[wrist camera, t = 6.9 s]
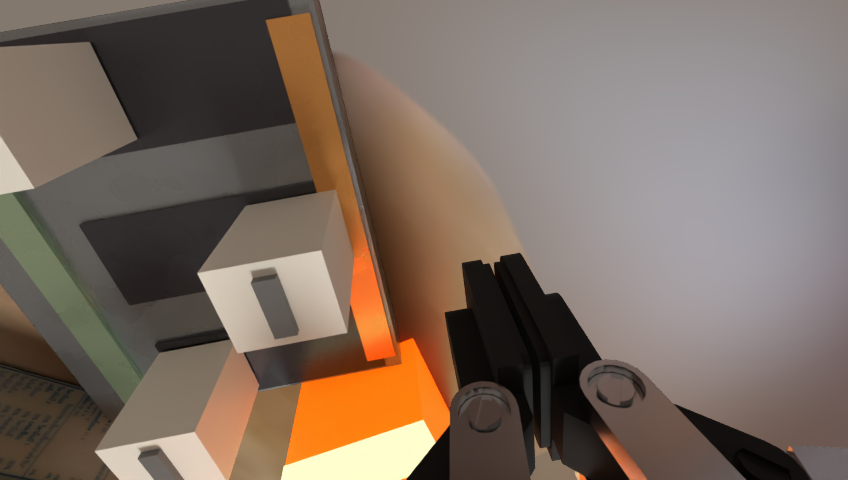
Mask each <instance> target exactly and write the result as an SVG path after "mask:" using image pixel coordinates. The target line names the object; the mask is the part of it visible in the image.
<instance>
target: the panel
mask: <svg viewBox="0 0 848 480" xmlns="http://www.w3.org/2000/svg"><path fill="white" fill-rule="evenodd" d="M80 42H90V44H91V46H92V48H93V50H94V52H95V54H96V56H97V58H98V60H99V62H100V64H101V66H102V68H103V70H104V72H105V74H106V76H107V78H108V80H109V82H110V84H111V86H112V88H113V90H114V92H115V94H116V96H117V98H118V100H119V102H120V104H121V106H122V108H123V110H124V113H125V115H126V117H127V119H128V121H129V123H130V125H131V127H132V129H133V131H134V133H135V135H136V137H137V140H135V141H133V142H131V143H129V144H127V145H125V146H123V147H121V148H118V149H116V150H114V151H112V152H110V153H108V154H106V155H104V156H102V157H100V158H97V159H95V160H93V161H91V162H89V163H87V164H85V165H83V166H81V167H79V168H77V169H74V170H72V171H70V172H68V173H66V174H64V175H62V176H60V177H58V178H56V179H53V180H51V181H49V182H47V183H45V184H43V185H41V186H39V187H37V188H34V189H29V190H23V191H18V192H12V193H6V194H1V195H0V284H1V285H2V287H3V288H4V289H5V290H6V292H7V293H8V294H9V295H10V297H11V298H12V299H13V300H14V302H15V303H16V304H17V305H18V307H19V308H20V309H21V310H22V312H23V313H24V314H25V315H26V317H27V318H28V319H29V320H30V322H31V323H32V324H33V326H34V327H35V328H36V329H37V331H38V332H39V333H40V334H41V336H42V337H43V338H44V339H45V341H46V342H47V343H48V344H49V346H50V347H51V348H52V349H53V351H54V352H55V353H56V354H57V356H58V357H59V358H60V359H61V361H62V362H63V363H64V364H65V366H66V367H67V368H68V369H69V371H70V372H71V373H72V374H73V376H74V377H75V378H76V379H77V381H78V382H79V383H80V384H81V386H82V387H83V388H84V390H85V391H86V392H87V393H88V395H89V396H90V397H91V398H92V400H93V401H94V402H95V403H96V405H97V406H98V407H99V408H100V410H101V411H102V412H103V413H104V415H105V416H106V417H107V418H108V420H112V419H116V418H117V416H118V415H119V413H120V412H121V410H122V409H123V407H124V406H125V404H126V403H127V401H128V400H129V398H130V397H131V395H132V394H133V392H134V391H135V389H136V388H137V386H138V385H139V383H140V382H141V380H142V379H143V377H144V375H145V374H146V372H147V371H148V369H149V368H150V366H151V365H152V363H153V362H154V360H155V359H156V357H157V356H158V354H159V353H162V352H167V351H172V350H178V349H183V348H188V347H194V346H199V345H204V344H209V343H215V342H220V341H225V340H231V339H230V337H229V335H228V333H227V331H226V329H225V327H224V325H223V323H222V321H221V319H220V317H219V315H218V314H217V312H216V310H215V308H214V306H213V304H212V302H211V300H210V298H209V296H208V294H207V292H206V290H205V288H204V286H203V284H202V282H201V280H200V278H199V276H198V274H197V273H198V271H199V270H200V269H201V267H202V266H203V264H204V263H205V262H206V260H207V259H208V257H209V256H210V255H211V253H212V252H213V251H214V249H215V248H216V246H217V245H218V244H219V242H220V241H221V239H222V238H223V237H224V235H225V234H226V233H227V231H228V230H229V228H230V227H231V226H232V224H233V223H234V221H235V220H236V219H237V217H238V216H239V215H240V213H241V212H242V210H243V209H244V208H245V206H247V205H253V204H258V203H264V202H269V201H275V200H280V199H286V198H291V197H297V196H302V195H308V194H313V193H319V192H324V191H330V190H335V189H336V191H337V195H338V199H339V202H340V206H341V210H342V213H343V217H344V221H345V224H346V228H347V231H348V235H349V239H350V242H351V246H352V250H353V253H354V266H353V277H352V288H351V299H350V310H349V321H348V332H347V333H344V334H339V335H334V336H328V337H323V338H318V339H312V340H307V341H302V342H296V343H291V344H286V345H281V346H275V347H270V348H265V349H259V350H254V351H249V352H243V353H244V355H245V357H246V359H247V361H248V363H249V365H250V367H251V369H252V371H253V373H254V375H255V377H256V379H257V381H258V383H259V388H258V391H257V392H259V391H264V390H269V389H275V388H280V387H285V386H290V385H295V384H301V383H306V382H311V381H316V380H322V379H327V378H332V377H337V376H343V375H348V374H353V373H358V372H364V371H369V370H374V369H379V368H384V367H390V366H395V365H400V364H402V359H401V346H400V338H399V334H398V330H397V325H396V321H395V317H394V313H393V309H392V304H391V300H390V296H389V292H388V288H387V283H386V279H385V275H384V271H383V267H382V262H381V258H380V254H379V250H378V245H377V241H376V237H375V233H374V229H373V224H372V220H371V216H370V212H369V208H368V203H367V199H366V195H365V191H364V187H363V182H362V178H361V174H360V170H359V166H358V161H357V157H356V153H355V149H354V145H353V140H352V136H351V132H350V128H349V123H348V119H347V115H346V111H345V107H344V102H343V98H342V94H341V90H340V86H339V81H338V77H337V73H336V69H335V65H334V60H333V56H332V52H331V48H330V44H329V39H328V35H327V32H326V27H325V23H324V18H323V14H322V10H321V6H320V2H319V0H188V1H182V2H177V3H171V4H164V5H158V6H152V7H146V8H141V9H135V10H129V11H123V12H117V13H111V14H105V15H99V16H93V17H88V18H82V19H76V20H70V21H64V22H58V23H52V24H46V25H40V26H35V27H29V28H23V29H17V30H11V31H5V32H0V47H9V46H27V45H44V44H62V43H80Z"/></svg>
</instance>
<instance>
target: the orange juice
mask: <svg viewBox="0 0 848 480" xmlns="http://www.w3.org/2000/svg"><path fill="white" fill-rule="evenodd" d="M400 346H401V359H402V364H400V365H395V366H390V367H384V368H379V369H374V370H369V371H364V372H358V373H353V374H348V375H343V376H337V377H332V378H327V379H322V380H316V381H311V382H306V383H302V386H301V391H300V396H299V401H298V406H297V411H296V416H295V420H294V425H293V430H292V435H291V440H290V445H289V450H288V454H287V459H286V464H285V466H284V468H283V473H282V478H281V480H406V479H407V478H408V476H409V475H410V474H411V473H412V471H413V470H414V469H415V468H416V466H417V465H418V464H419V463H420V461H421V460H422V459H423V458H424V456H425V455H426V454H427V453H428V451H429V450H430V449H431V448H432V446H433V445H434V444H435V443H436V441H437V440H438V439H439V438H440V436H441V435H442V434H443V433H444V431H445V430H446V429H447V428H448V426H449V425H450V412H449V410H448V408H447V406H446V404H445V402H444V400H443V398H442V396H441V394H440V392H439V390H438V388H437V386H436V384H435V382H434V380H433V378H432V376H431V374H430V372H429V370H428V368H427V366H426V364H425V362H424V360H423V358H422V356H421V354H420V352H419V349H418V347H417V345H416V343H415V341H414V339H410V340H407V341H404V342H401V343H400Z"/></svg>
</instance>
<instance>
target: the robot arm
mask: <svg viewBox="0 0 848 480" xmlns="http://www.w3.org/2000/svg"><path fill="white" fill-rule="evenodd" d="M462 270H463V278H464V286H465V295H466V303H467V309H461V310H455V311H450V312H445V318H446V324H447V331H448V337H449V343H450V348H451V353H452V359H453V364H454V369H455V374H456V379H457V383H458V388H459V391H458V392H457V393H456V394H455V396H454V398H453V400H452V402H451V407H450V425H449V426H448V428H447V429H446V430H445V431H444V433H443V434H442V435H441V436H440V438H439V439H438V440H437V441H436V443H435V444H434V445H433V446H432V448H431V449H430V450H429V451H428V453H427V454H426V455H425V456H424V458H423V459H422V460H421V461H420V463H419V464H418V465H417V466H416V468H415V469H414V470H413V471H412V473H411V474H410V475H409V476H408V478H407V479H406V480H531V479H530V476H531V474H532V473H533V471H534V469H535V450H534V435H535V437H536V440H537V443H538V445H539V447H540V448H544V447H547V449H548V451H549V454H550V456H551V459H552V461H554V460H560V459H561V461H562V463H563V464H564V465H566V466H568V467H570V468H571V469H573V470H575V475H576V477H577V479H578V480H848V448H833V447H811V446H790V447H789V449H788V451H782V450H781V449H779V448H778V447H776V446H773V445H771V444H770V443H768V442H766V441H764V440H761V439H759V438H756V437H754V436H751V435H749V434H746V433H744V432H742V431H739V430H737V429H734V428H732V427H729V426H727V425H724V424H722V423H720V422H717V421H715V420H712V419H710V418H707V417H705V416H702V415H700V414H698V413H695V412H693V411H690V410H687V409H685V408H683V407H681V406H678V405H676V404H673V403H672V402H671V401H670V400H669V399H668V398H667V397H666V396H665V395H664V394H663V393H662V391H661V390H660V389H659V388H658V387H656V385H655V384H654V383H653V382H652V381H651V380H650V379H649V378H648V377H647V376H646V375H645V374H644V373H642V372H641V371H640V370H639V369H638V368H636V367H634V366H632V365H630V364H628V363H625V362H621V361H618V360H607V359H605V360H602V359H601V358H600V356H599V354H598V353H597V351H596V350H595V348H594V347H593V345H592V344H591V342H590V340H589V339H588V337H587V336H586V334H585V333H584V331H583V329H582V328H581V326H580V325H579V323H578V322H577V320H576V318H575V317H574V315H573V314H572V312H571V311H570V309H569V308H568V306H567V305H566V303H565V301H564V300H563V298H562V297H561V296H560V294H558V293H552V294H546V295H545V294H544V292H543V291H542V289H541V287H540V285H539V284H538V282H537V280H536V279H535V277H534V275H533V273H532V272H531V270H530V268H529V267H528V265H527V263H526V261H525V260H524V258H523V256H522V255H521V253H516V254H511V255H505V256H501V257H500V262H495V263H494V271H495V275H494V273H493V271H492V268H491V266H490V264H489V263H488V264H483V263H482V261H481V260H477V261H471V262H465V263H462Z"/></svg>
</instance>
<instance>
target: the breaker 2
mask: <svg viewBox="0 0 848 480" xmlns="http://www.w3.org/2000/svg"><path fill="white" fill-rule="evenodd" d="M258 388H259V383H258V381H257V379H256V377H255V375H254V373H253V371H252V369H251V367H250V365H249V363H248V361H247V359H246V357H245V355H244V353H237V351H236V349H235V347H234V345H233V343H232V341H231V340H225V341H220V342H215V343H209V344H204V345H199V346H194V347H188V348H183V349H178V350H172V351H167V352H162V353H159V354H158V356H157V357H156V359H155V360H154V362H153V363H152V365H151V366H150V368H149V369H148V371H147V372H146V374H145V375H144V377H143V379H142V380H141V382H140V383H139V385H138V386H137V388H136V389H135V391H134V392H133V394H132V395H131V397H130V398H129V400H128V401H127V403H126V404H125V406H124V407H123V409H122V410H121V412H120V413H119V415H118V416H117V418H116V419H115V421H114V422H113V424H112V425H111V427H110V428H109V430H108V431H107V433H106V434H105V436H104V438H103V439H102V441H101V442H100V444H99V445H98V447H97V448H96V450H95V452H96V454H97V455H98V456H99V457H100V458H101V459H102V461H103V462H104V463H105V464H106V465H107V466H108V467H109V469H110V470H111V471H112V472H113V473H114V474H115V475H116V477H117V478H118V479H119V480H229V478H230V475H231V472H232V469H233V465H234V462H235V459H236V456H237V453H238V450H239V447H240V444H241V441H242V438H243V434H244V431H245V428H246V425H247V422H248V419H249V416H250V413H251V410H252V407H253V404H254V400H255V397H256V394H257V391H258Z"/></svg>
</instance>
